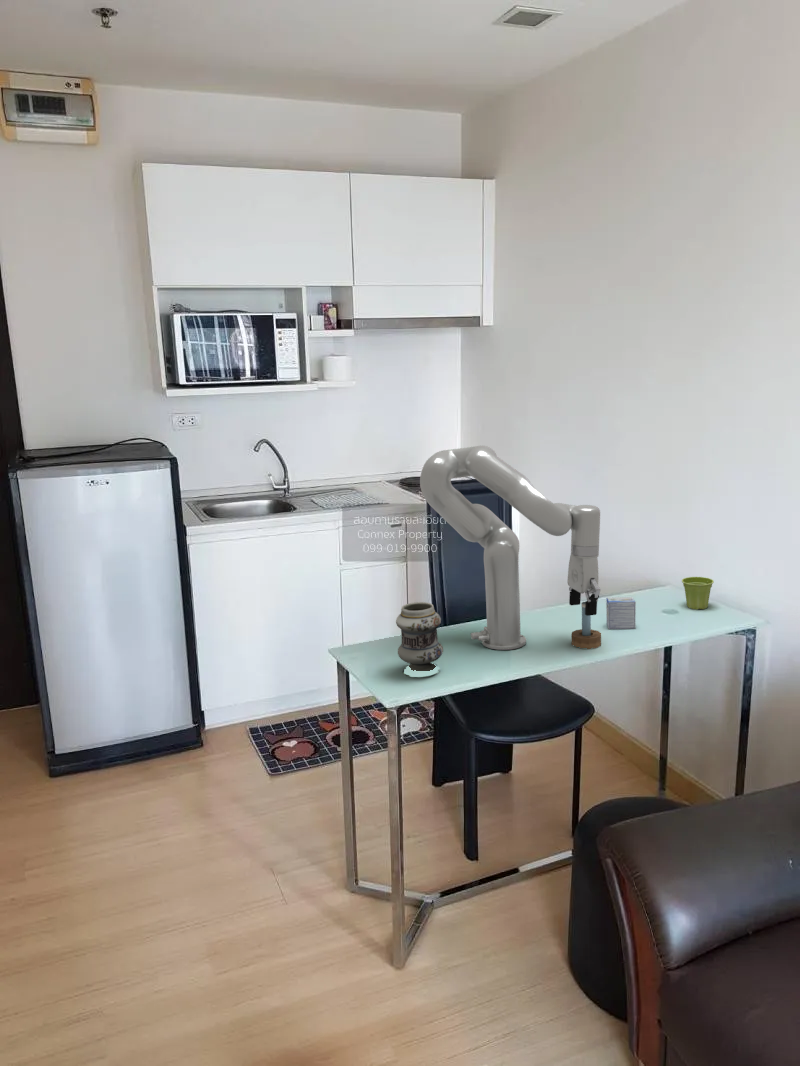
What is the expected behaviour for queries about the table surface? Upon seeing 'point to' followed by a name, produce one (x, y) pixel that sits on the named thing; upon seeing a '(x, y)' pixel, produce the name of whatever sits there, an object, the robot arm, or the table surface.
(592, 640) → the bead
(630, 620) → the medicine box
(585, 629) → the blue grey cylinder
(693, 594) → the plant pot
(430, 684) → the table surface
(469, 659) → the table surface
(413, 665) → the apothecary jar
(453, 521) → the robot arm
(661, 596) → the table surface
